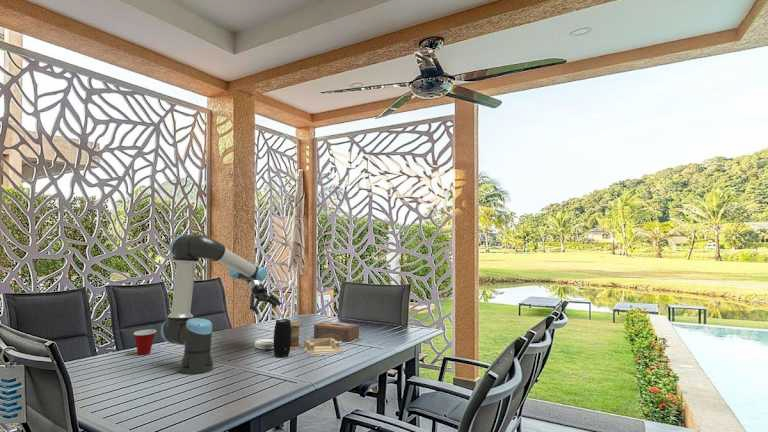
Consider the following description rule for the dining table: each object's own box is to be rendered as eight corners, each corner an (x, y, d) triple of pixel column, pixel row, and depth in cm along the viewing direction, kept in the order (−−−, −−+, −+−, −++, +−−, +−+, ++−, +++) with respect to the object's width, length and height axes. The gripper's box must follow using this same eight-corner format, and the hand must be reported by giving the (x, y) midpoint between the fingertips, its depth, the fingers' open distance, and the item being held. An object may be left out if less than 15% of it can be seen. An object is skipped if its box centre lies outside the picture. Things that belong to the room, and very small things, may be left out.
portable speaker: (290, 357, 224) (292, 321, 226) (272, 358, 222) (274, 321, 223) (290, 353, 233) (291, 318, 234) (272, 354, 230) (274, 318, 232)
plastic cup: (127, 354, 221) (129, 331, 222) (146, 350, 231) (148, 328, 232) (139, 357, 216) (141, 334, 217) (159, 353, 226) (160, 330, 227)
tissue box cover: (358, 340, 273) (359, 324, 274) (349, 344, 260) (349, 328, 261) (324, 336, 283) (325, 321, 284) (313, 340, 270) (314, 324, 270)
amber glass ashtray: (343, 354, 236) (343, 344, 236) (310, 357, 227) (311, 346, 228) (333, 346, 252) (333, 337, 252) (302, 349, 243) (302, 339, 244)
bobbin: (303, 348, 244) (304, 324, 246) (288, 350, 241) (290, 324, 242) (299, 345, 252) (300, 321, 253) (285, 346, 248) (286, 322, 249)
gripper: (271, 290, 257) (285, 318, 247) (235, 293, 238) (249, 323, 227) (277, 282, 254) (292, 310, 244) (241, 285, 235) (255, 315, 224)
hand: (271, 316), depth 236 cm, fingers open, 13 cm apart
